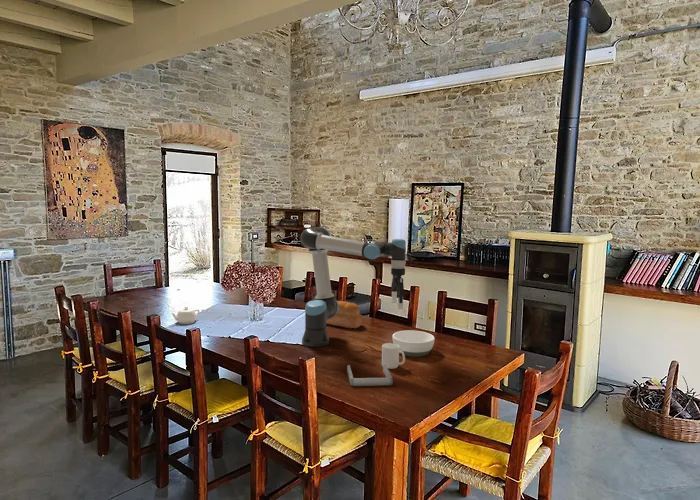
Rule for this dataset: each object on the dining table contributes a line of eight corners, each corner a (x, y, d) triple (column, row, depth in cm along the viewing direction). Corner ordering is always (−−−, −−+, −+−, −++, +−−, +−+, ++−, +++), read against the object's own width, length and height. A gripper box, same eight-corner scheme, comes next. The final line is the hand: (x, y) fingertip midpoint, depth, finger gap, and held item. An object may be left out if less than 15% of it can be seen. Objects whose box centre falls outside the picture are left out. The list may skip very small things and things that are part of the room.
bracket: (350, 386, 200) (350, 379, 200) (347, 371, 217) (347, 365, 216) (392, 385, 202) (392, 378, 201) (385, 370, 219) (385, 364, 218)
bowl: (407, 361, 232) (408, 345, 231) (384, 347, 252) (384, 333, 251) (442, 354, 243) (443, 339, 242) (417, 342, 262) (418, 328, 261)
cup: (386, 361, 231) (387, 342, 230) (408, 366, 224) (409, 346, 223) (378, 366, 224) (379, 346, 223) (400, 372, 217) (401, 351, 216)
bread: (353, 330, 285) (354, 306, 283) (319, 323, 298) (319, 300, 296) (364, 325, 296) (364, 302, 294) (330, 319, 309) (330, 297, 308)
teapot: (176, 327, 283) (176, 311, 282) (166, 323, 291) (165, 308, 290) (204, 321, 299) (204, 305, 298) (193, 317, 306) (193, 302, 305)
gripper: (411, 271, 238) (409, 311, 240) (399, 264, 262) (398, 300, 265) (397, 271, 237) (395, 311, 239) (386, 264, 261) (385, 300, 263)
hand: (397, 305), depth 252 cm, fingers open, 13 cm apart
